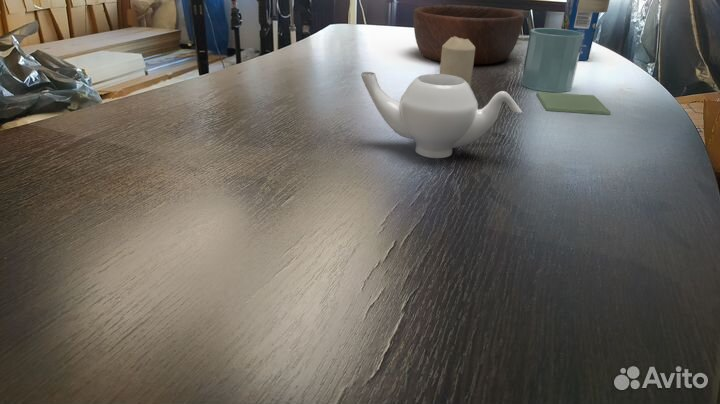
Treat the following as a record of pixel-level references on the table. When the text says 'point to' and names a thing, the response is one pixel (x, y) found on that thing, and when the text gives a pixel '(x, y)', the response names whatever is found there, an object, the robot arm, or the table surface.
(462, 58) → the candle
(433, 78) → the teapot
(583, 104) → the mat
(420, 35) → the wooden bowl
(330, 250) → the table surface
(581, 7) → the brush
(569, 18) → the blue food package
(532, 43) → the cup
